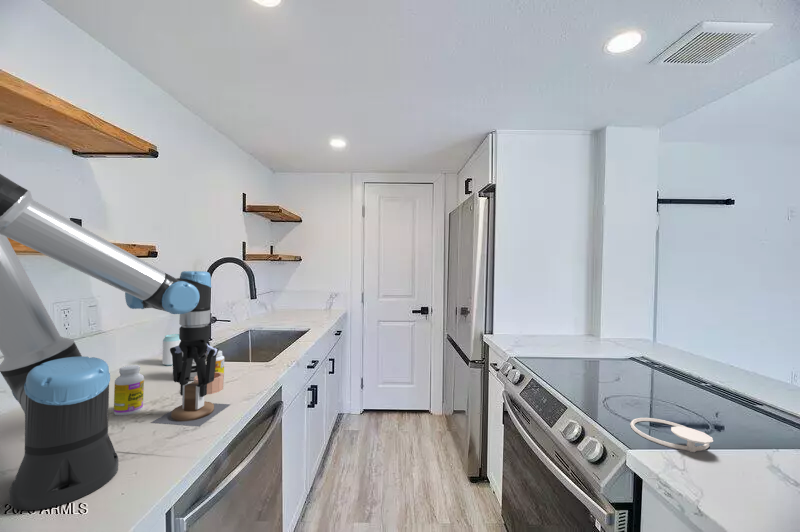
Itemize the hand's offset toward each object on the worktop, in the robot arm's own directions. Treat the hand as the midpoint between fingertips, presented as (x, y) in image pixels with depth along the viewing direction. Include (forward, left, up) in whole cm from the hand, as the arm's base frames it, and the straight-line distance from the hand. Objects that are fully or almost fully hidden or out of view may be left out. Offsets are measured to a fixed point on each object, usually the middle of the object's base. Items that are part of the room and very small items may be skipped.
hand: (193, 406), depth 97 cm
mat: (0, 0, -2) cm, 2 cm away
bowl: (+17, +7, -2) cm, 19 cm away
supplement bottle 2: (+28, +12, -2) cm, 31 cm away
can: (+42, +41, -2) cm, 59 cm away
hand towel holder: (+6, -132, -3) cm, 132 cm away
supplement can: (+28, +21, -2) cm, 35 cm away
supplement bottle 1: (-1, +19, -2) cm, 19 cm away
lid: (0, 0, -2) cm, 2 cm away
